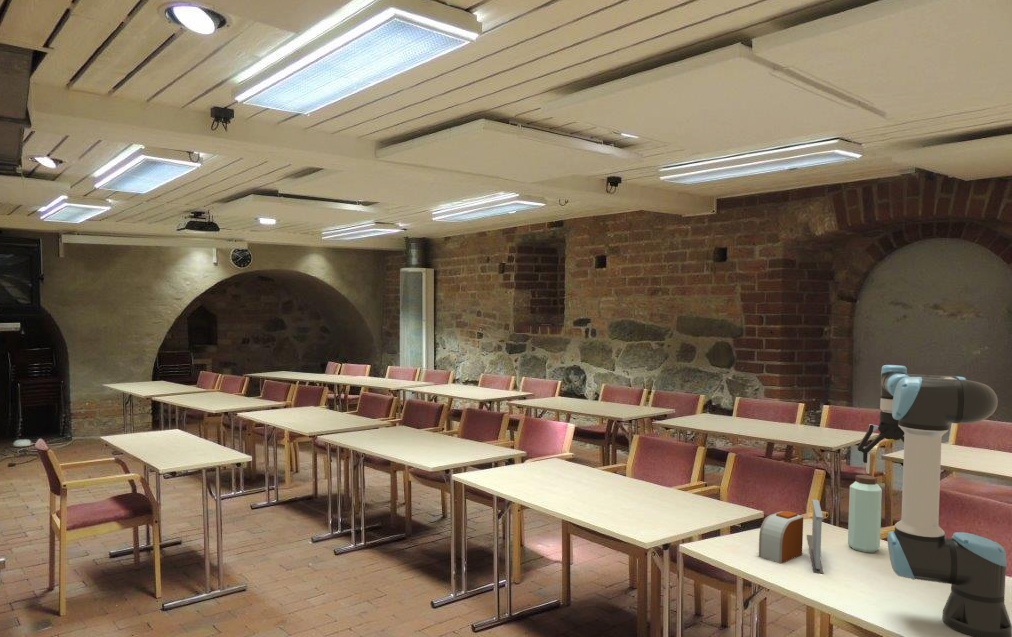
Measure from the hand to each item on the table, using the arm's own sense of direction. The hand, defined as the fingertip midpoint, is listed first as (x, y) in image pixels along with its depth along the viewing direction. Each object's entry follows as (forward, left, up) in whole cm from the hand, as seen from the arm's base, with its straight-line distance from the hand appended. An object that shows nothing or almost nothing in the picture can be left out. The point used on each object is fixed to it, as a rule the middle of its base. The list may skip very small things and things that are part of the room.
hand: (890, 475), depth 233 cm
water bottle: (+7, +6, -28) cm, 30 cm away
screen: (-12, +23, -28) cm, 38 cm away
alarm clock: (-12, +33, -28) cm, 45 cm away
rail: (-5, +23, -28) cm, 36 cm away
